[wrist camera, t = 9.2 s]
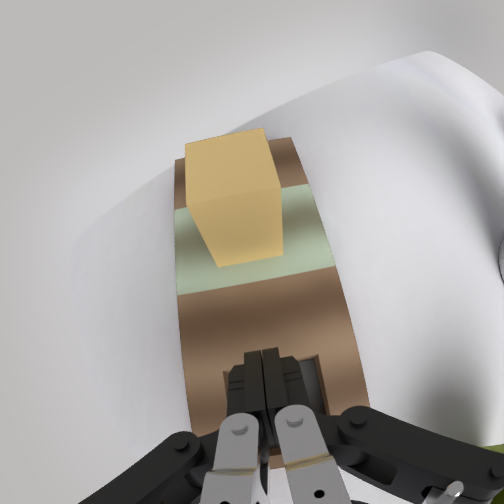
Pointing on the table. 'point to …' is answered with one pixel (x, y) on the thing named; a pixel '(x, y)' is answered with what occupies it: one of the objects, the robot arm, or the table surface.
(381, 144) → the table surface
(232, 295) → the box
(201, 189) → the ochre block
